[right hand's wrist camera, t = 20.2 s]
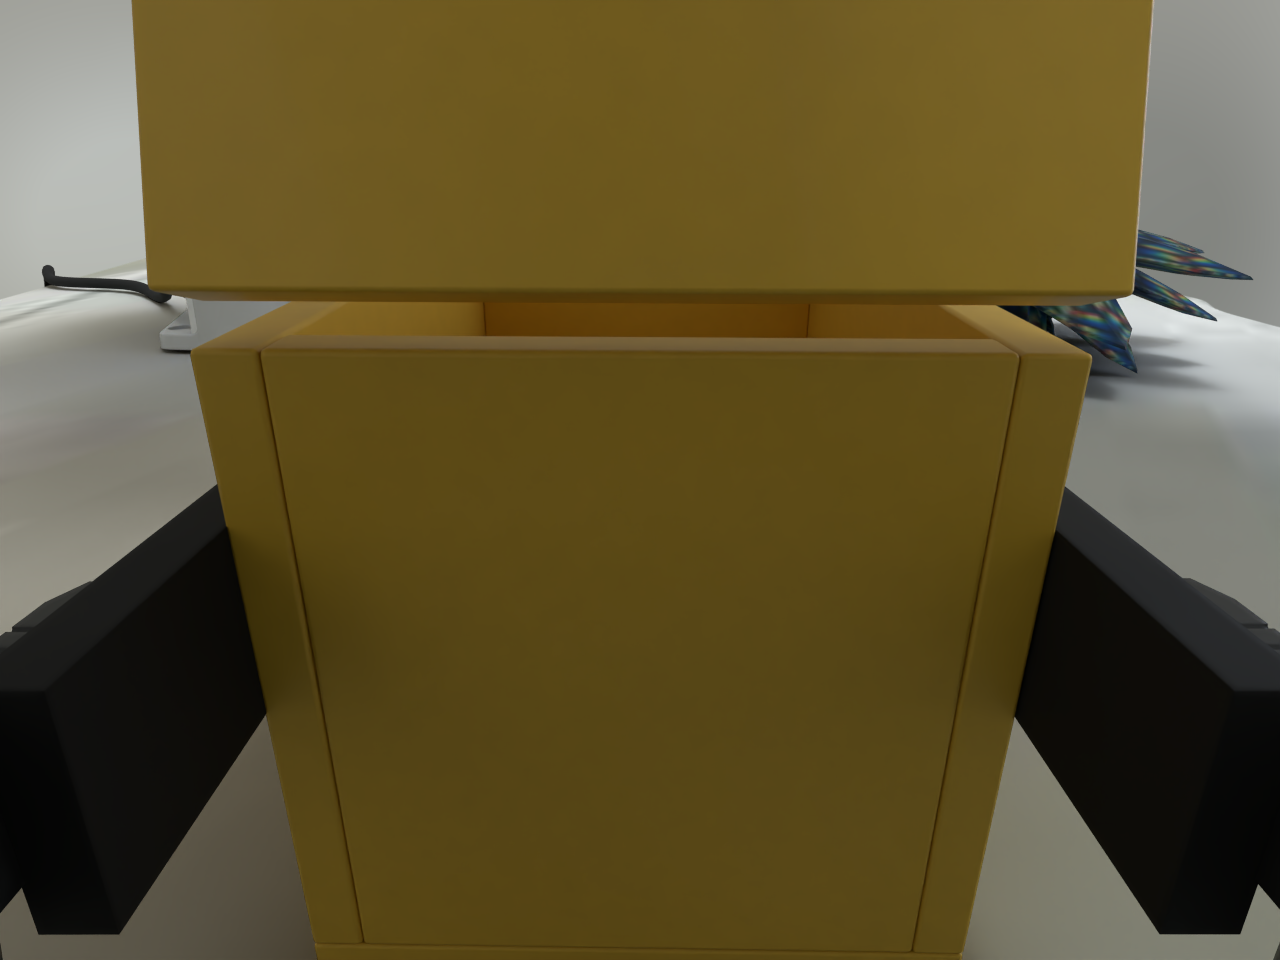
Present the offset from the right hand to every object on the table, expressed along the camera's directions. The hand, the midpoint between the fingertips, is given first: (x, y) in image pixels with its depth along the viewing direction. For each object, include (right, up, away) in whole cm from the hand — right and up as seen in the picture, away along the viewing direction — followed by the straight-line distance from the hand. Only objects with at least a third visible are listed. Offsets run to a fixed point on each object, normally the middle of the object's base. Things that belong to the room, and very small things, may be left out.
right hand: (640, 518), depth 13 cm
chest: (0, -5, +5) cm, 7 cm away
